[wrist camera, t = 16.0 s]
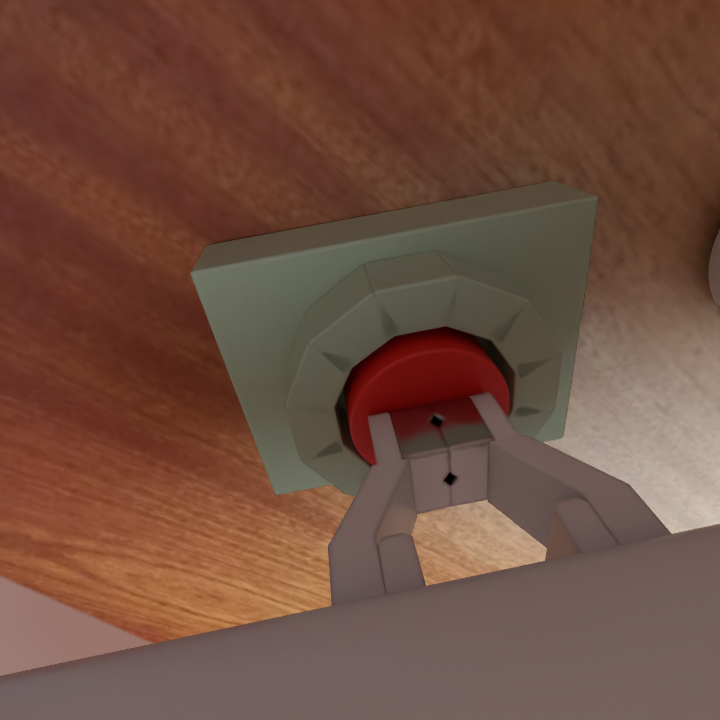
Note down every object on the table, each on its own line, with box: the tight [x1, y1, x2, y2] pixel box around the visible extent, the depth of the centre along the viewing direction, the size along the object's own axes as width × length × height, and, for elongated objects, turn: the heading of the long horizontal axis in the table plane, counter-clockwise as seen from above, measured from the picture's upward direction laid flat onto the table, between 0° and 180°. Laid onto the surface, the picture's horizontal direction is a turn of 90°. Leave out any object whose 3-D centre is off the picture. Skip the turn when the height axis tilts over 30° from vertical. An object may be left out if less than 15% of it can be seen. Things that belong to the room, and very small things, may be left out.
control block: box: [191, 181, 599, 496], centre depth 12 cm, size 10×8×4 cm
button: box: [344, 326, 510, 465], centre depth 11 cm, size 4×4×2 cm
